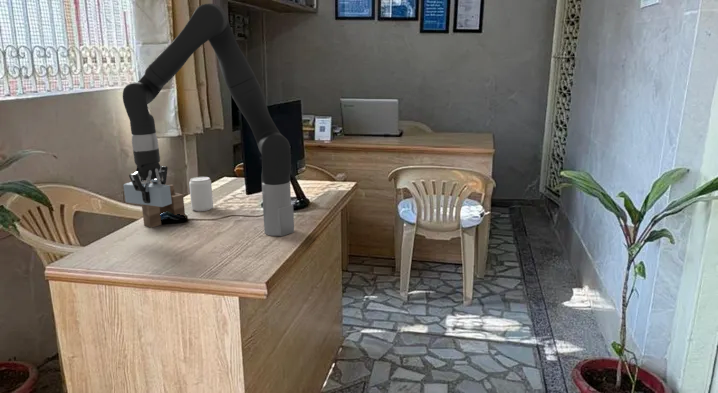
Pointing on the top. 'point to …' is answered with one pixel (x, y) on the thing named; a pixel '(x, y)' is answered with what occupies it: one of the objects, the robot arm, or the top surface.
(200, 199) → the beverage can
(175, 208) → the headboard
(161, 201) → the grey rectangular block
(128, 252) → the top surface
